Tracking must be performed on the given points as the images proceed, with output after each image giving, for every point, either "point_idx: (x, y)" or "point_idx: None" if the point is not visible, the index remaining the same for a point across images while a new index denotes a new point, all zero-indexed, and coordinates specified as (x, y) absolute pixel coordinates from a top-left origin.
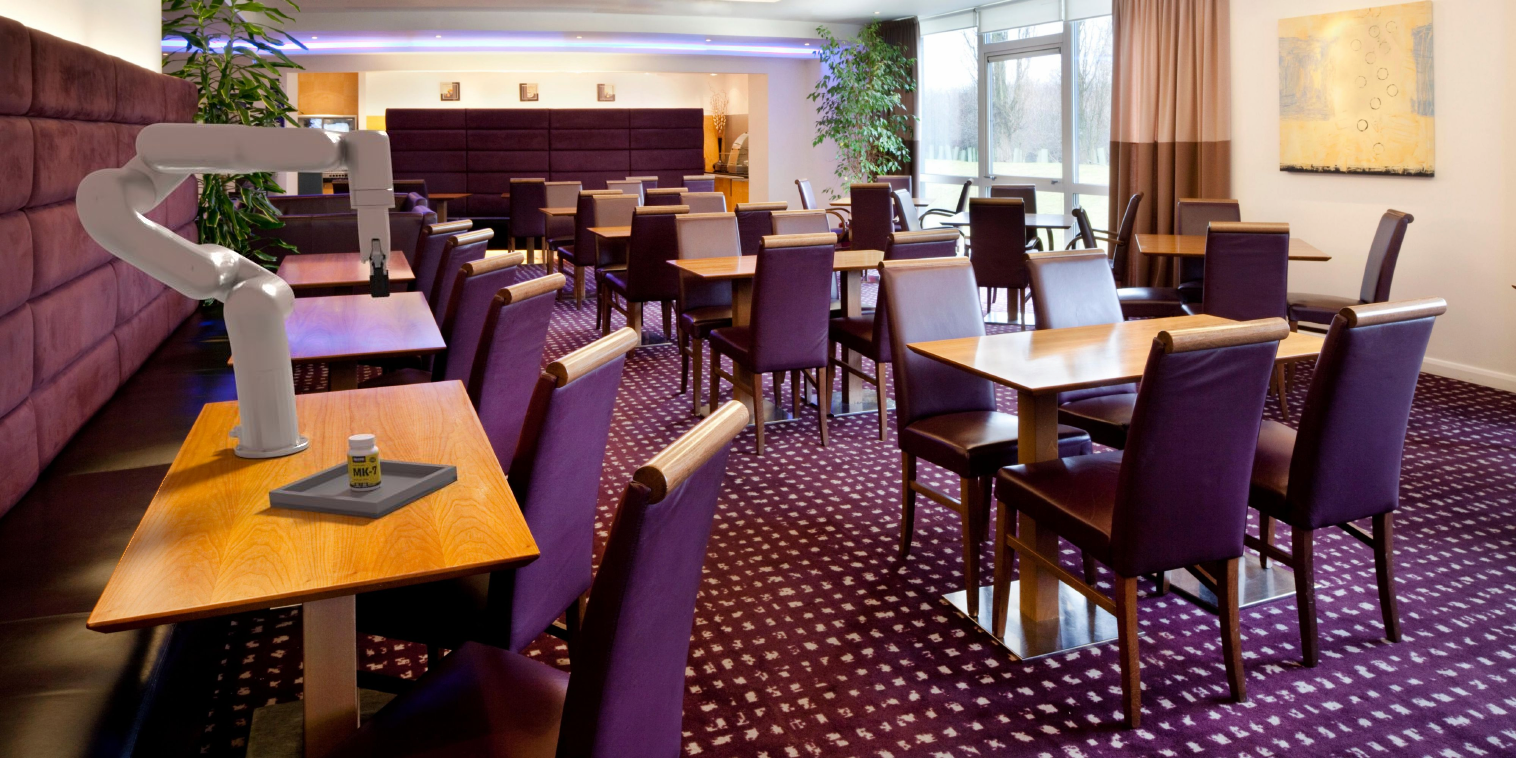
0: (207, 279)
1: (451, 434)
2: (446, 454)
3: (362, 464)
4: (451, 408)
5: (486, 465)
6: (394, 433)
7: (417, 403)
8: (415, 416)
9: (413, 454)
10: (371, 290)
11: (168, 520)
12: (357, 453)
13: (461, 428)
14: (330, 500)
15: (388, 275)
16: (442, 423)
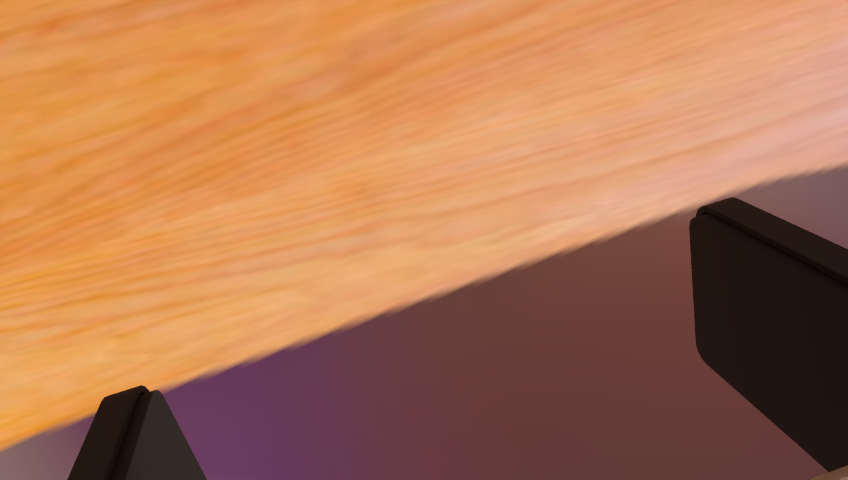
0: None
1: (399, 249)
2: (166, 295)
3: None
4: (720, 167)
5: (47, 424)
6: (442, 69)
7: (827, 39)
8: (652, 80)
9: (168, 202)
10: (85, 453)
11: None
12: None
13: (465, 259)
14: None
15: (825, 462)
16: (539, 189)
